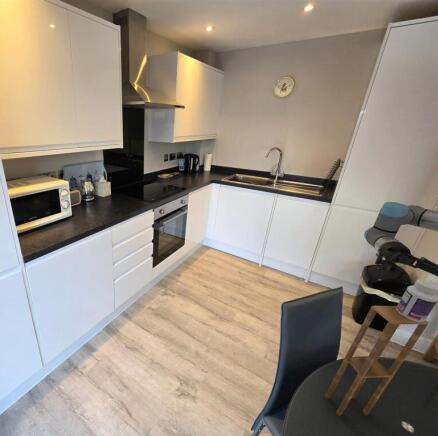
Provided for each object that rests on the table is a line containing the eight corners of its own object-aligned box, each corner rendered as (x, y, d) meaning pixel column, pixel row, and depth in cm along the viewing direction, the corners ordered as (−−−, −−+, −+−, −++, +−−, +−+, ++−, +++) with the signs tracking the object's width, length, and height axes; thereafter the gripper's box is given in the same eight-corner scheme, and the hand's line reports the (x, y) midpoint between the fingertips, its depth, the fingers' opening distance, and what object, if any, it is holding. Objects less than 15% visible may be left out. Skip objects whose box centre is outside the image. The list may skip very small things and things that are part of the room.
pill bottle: (428, 320, 62) (449, 288, 58) (417, 325, 60) (438, 293, 56) (401, 305, 66) (419, 275, 62) (390, 309, 64) (408, 279, 60)
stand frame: (351, 395, 81) (404, 307, 66) (367, 415, 75) (428, 324, 61) (324, 396, 80) (371, 307, 66) (337, 416, 75) (392, 324, 60)
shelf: (404, 307, 66) (405, 306, 66) (428, 324, 61) (429, 322, 61) (371, 307, 66) (372, 305, 65) (392, 324, 60) (393, 322, 60)
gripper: (429, 266, 91) (476, 302, 72) (349, 250, 98) (374, 280, 80) (439, 248, 88) (491, 282, 69) (357, 234, 95) (384, 260, 77)
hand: (428, 281), depth 74 cm, fingers open, 13 cm apart
